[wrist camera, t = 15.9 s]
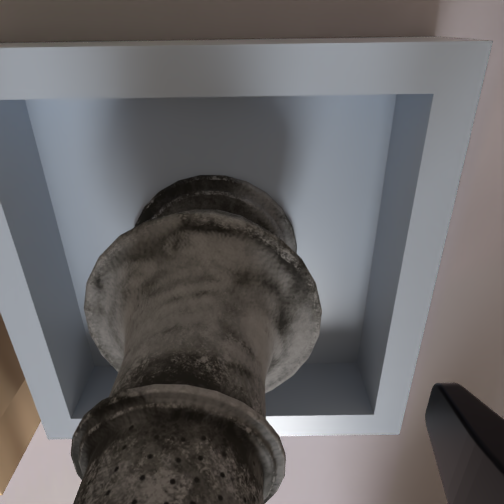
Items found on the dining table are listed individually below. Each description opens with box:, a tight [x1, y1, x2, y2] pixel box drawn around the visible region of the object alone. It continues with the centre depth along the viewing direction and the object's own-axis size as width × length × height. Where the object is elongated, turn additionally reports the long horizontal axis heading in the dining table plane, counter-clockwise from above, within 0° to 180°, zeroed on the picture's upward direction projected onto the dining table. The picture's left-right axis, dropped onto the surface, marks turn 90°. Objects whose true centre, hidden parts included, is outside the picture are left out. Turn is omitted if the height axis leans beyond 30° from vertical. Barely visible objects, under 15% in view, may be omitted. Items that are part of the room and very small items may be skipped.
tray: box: [0, 37, 493, 439], centre depth 13 cm, size 12×12×3 cm
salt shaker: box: [71, 175, 322, 504], centre depth 8 cm, size 6×6×12 cm
